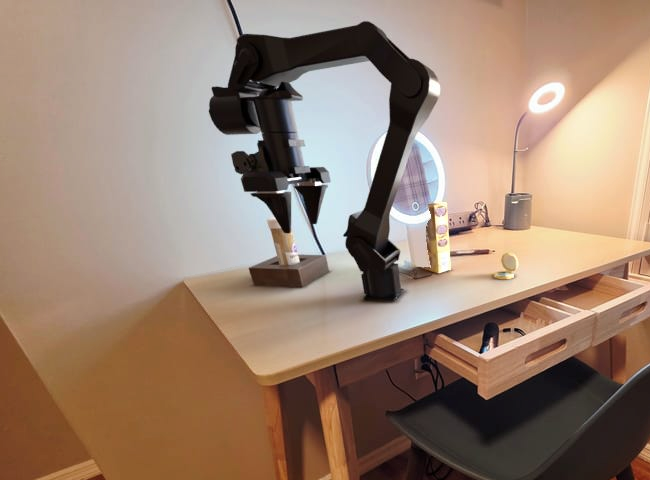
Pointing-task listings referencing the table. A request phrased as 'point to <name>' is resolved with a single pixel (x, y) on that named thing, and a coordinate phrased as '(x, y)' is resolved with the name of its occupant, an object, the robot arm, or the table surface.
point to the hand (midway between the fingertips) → (301, 228)
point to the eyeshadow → (507, 266)
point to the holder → (289, 271)
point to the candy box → (438, 238)
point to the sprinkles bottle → (283, 244)
